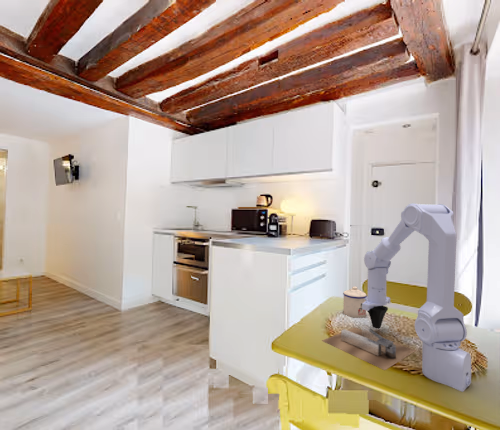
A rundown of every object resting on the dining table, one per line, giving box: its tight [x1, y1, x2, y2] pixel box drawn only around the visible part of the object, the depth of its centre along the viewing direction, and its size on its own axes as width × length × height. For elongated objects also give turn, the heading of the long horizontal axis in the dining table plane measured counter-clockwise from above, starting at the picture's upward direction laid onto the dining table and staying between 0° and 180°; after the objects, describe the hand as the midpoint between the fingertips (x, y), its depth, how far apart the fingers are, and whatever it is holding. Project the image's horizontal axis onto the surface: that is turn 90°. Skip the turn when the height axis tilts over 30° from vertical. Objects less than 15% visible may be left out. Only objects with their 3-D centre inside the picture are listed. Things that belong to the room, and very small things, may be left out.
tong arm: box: [361, 324, 396, 359], centre depth 81 cm, size 15×3×3 cm, turn 6°
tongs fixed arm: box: [340, 328, 394, 356], centre depth 80 cm, size 14×3×4 cm, turn 36°
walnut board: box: [321, 327, 417, 371], centre depth 82 cm, size 20×18×1 cm
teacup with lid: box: [342, 285, 368, 319], centre depth 111 cm, size 12×9×12 cm
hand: (376, 327), depth 91 cm, fingers closed
